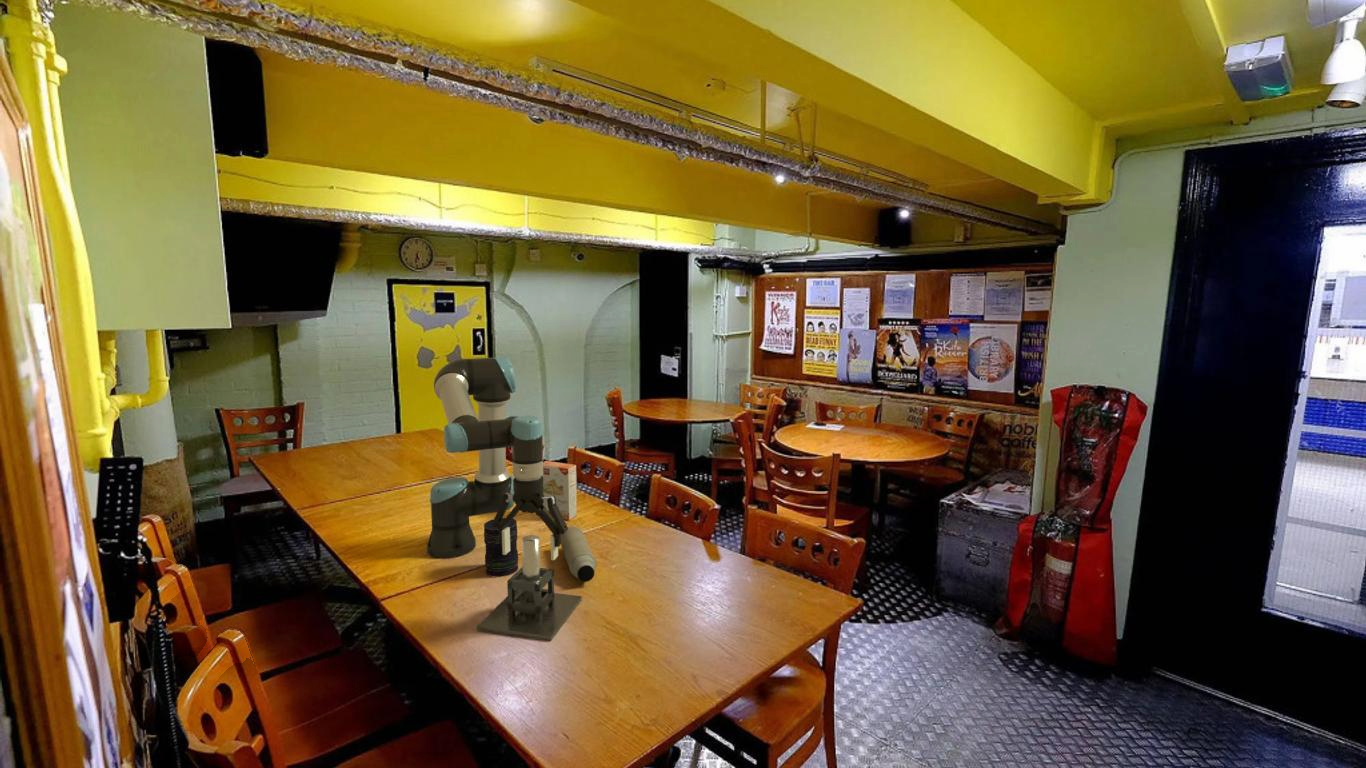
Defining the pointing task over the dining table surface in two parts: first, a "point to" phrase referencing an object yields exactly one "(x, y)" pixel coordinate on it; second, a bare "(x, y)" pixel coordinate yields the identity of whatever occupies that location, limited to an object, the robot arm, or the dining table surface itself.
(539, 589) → the collar stand
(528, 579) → the steel tube
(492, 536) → the storage jar
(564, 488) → the cracker box
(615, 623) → the dining table surface
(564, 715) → the dining table surface
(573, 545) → the thermos bottle
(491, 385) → the robot arm
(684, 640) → the dining table surface
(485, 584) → the dining table surface
